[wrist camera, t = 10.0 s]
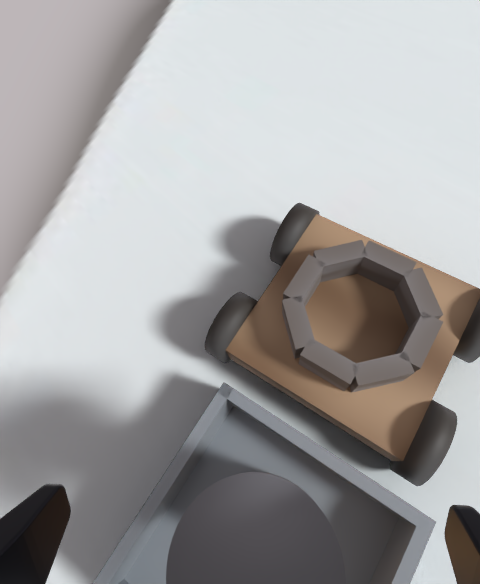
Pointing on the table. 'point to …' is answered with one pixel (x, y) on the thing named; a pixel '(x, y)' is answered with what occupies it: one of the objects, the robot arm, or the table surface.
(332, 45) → the table surface
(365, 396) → the trolley
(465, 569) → the robot arm
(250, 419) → the tray
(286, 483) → the pin
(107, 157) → the table surface
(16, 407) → the table surface
